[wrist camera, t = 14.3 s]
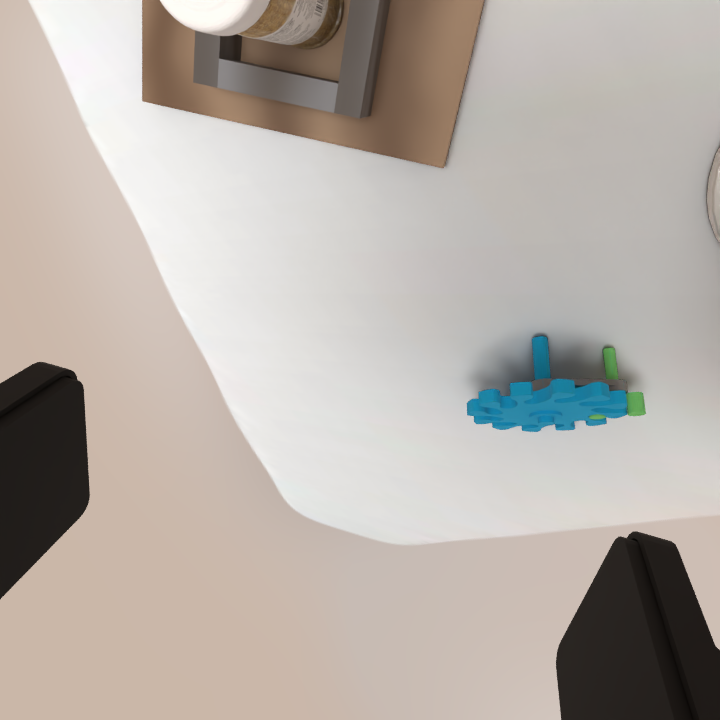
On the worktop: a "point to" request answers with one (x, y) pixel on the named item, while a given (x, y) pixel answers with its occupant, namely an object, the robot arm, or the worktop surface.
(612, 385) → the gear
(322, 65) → the caddy
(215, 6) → the sprinkles bottle
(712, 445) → the worktop surface
